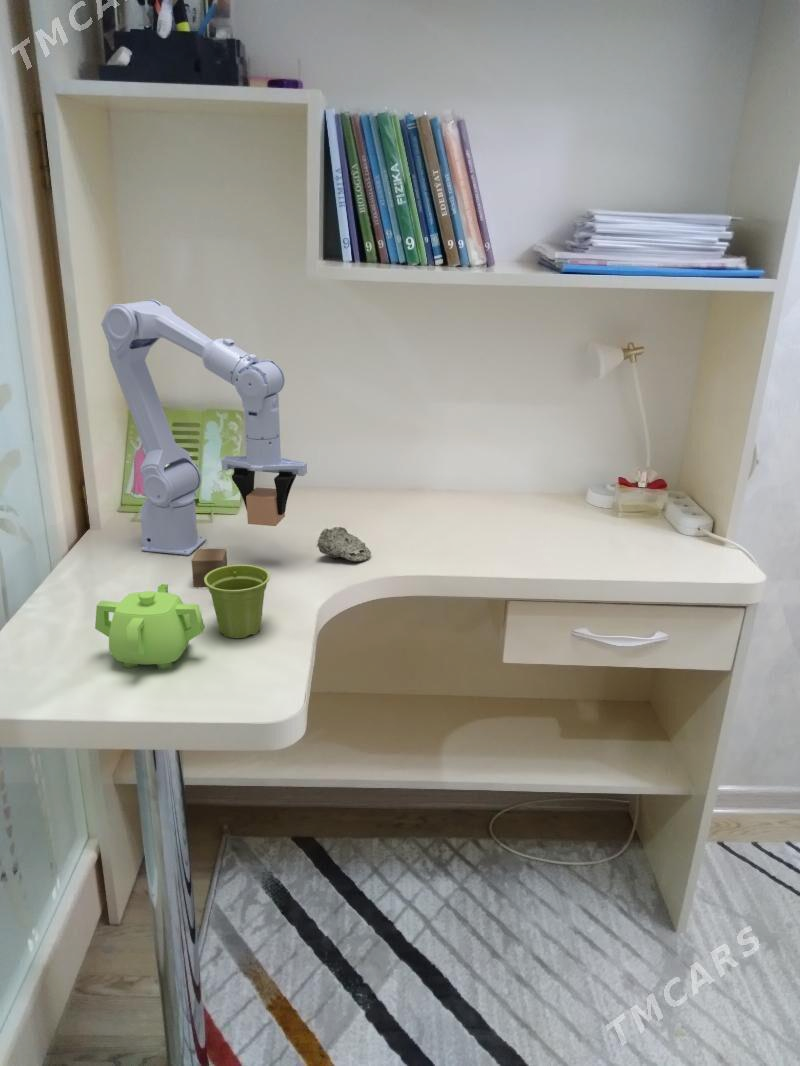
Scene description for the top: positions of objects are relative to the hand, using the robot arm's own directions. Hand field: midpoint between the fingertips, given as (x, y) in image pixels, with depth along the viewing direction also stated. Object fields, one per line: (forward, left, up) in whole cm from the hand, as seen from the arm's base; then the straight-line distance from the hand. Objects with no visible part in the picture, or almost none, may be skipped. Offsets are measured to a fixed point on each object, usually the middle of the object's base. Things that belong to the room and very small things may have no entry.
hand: (266, 511), depth 143 cm
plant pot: (+4, -24, -10) cm, 26 cm away
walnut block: (-7, -9, -10) cm, 15 cm away
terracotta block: (0, 0, -2) cm, 2 cm away
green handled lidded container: (-5, -34, -10) cm, 36 cm away
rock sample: (+13, +7, -10) cm, 18 cm away
